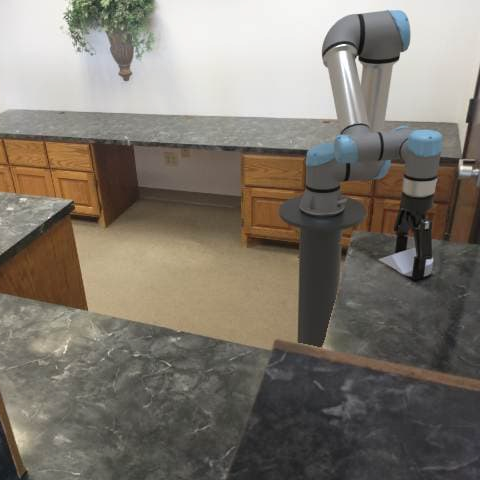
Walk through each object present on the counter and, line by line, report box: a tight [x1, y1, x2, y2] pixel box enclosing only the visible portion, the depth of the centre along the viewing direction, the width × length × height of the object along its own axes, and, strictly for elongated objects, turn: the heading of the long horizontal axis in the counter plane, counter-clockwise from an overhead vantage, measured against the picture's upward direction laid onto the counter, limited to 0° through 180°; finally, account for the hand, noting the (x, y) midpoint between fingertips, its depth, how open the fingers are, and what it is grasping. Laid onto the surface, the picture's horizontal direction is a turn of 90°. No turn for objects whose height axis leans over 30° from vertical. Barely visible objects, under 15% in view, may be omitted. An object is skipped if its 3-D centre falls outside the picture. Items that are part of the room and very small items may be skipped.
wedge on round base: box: [377, 247, 434, 278], centre depth 138 cm, size 9×7×13 cm
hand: (408, 267), depth 139 cm, fingers closed on wedge on round base, 11 cm apart
